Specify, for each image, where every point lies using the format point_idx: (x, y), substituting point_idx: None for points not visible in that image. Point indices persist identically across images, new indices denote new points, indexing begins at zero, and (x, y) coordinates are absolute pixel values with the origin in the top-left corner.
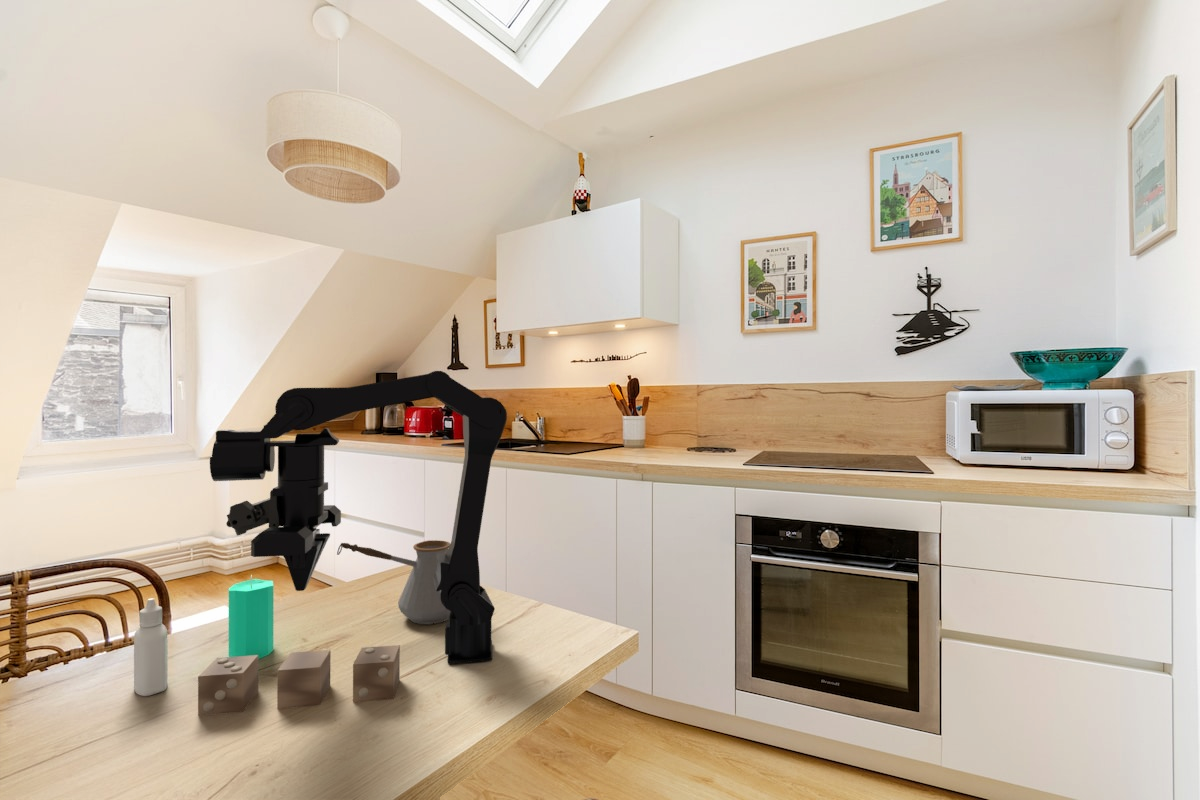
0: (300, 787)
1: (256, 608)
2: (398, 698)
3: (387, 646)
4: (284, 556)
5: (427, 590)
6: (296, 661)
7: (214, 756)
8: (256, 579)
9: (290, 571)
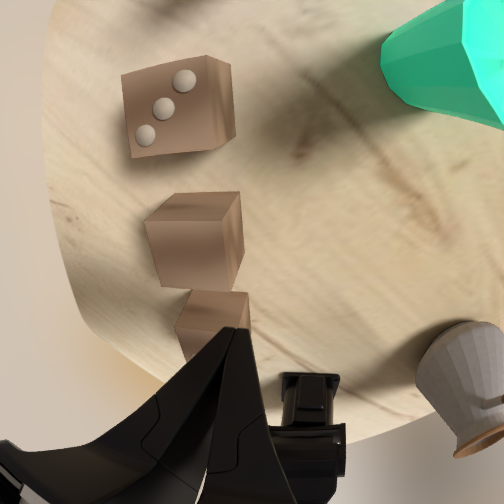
0: (66, 264)
1: (440, 80)
2: None
3: None
4: (86, 446)
5: (438, 392)
6: (178, 244)
7: (80, 164)
8: None
9: (160, 390)
